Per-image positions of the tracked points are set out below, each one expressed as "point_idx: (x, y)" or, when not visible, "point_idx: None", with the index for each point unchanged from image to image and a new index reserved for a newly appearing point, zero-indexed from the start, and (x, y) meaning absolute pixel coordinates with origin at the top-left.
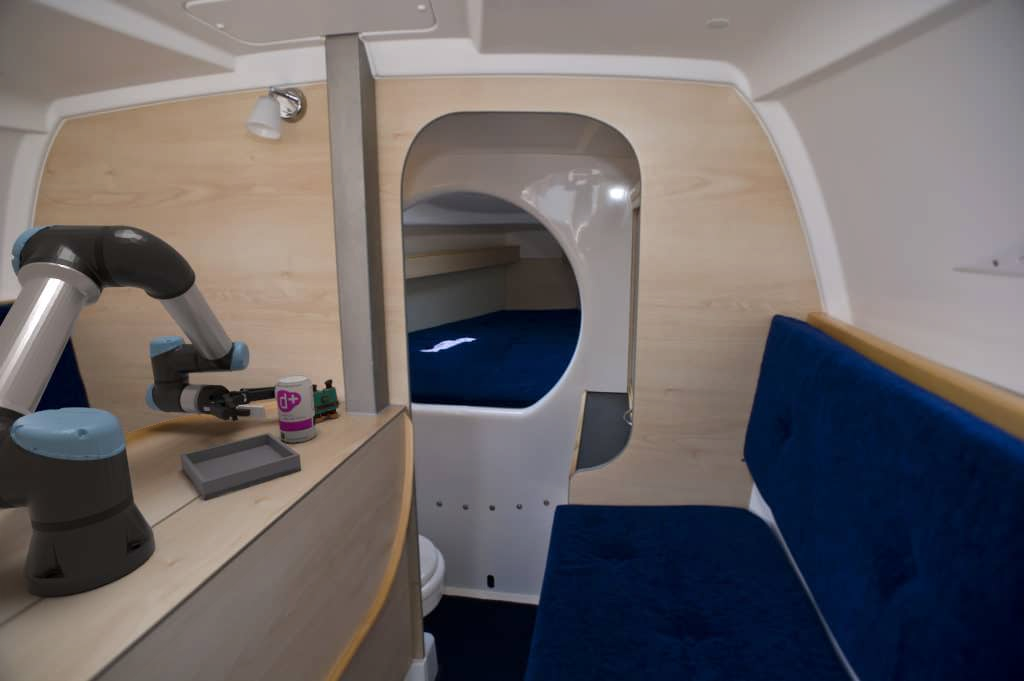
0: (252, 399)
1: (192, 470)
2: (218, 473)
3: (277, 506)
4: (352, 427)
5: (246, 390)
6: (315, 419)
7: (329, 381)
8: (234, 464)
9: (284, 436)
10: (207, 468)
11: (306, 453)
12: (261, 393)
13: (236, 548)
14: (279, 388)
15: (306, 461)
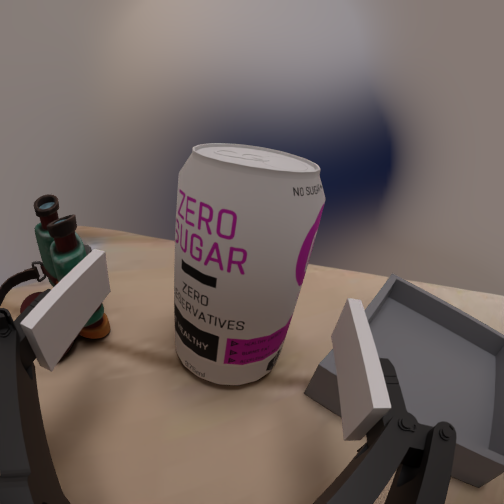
0: (51, 477)
1: None
2: (469, 386)
3: (449, 292)
4: (164, 267)
5: (5, 487)
6: (106, 322)
7: (55, 199)
8: (437, 387)
9: (279, 353)
10: (471, 421)
11: (320, 309)
12: (24, 408)
13: (491, 294)
14: (322, 198)
15: None
